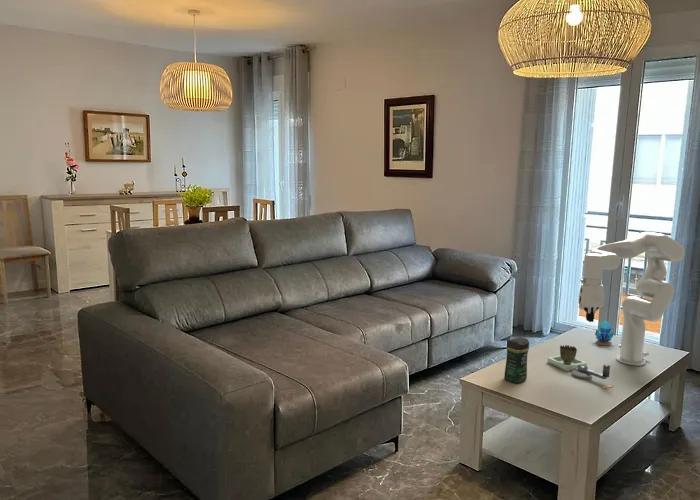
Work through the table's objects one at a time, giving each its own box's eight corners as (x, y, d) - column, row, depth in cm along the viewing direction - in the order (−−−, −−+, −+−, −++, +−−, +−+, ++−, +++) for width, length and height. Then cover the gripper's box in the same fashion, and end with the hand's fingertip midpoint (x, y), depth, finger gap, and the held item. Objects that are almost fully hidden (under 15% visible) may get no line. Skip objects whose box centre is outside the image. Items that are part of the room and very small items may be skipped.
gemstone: (594, 340, 289) (596, 318, 287) (612, 342, 286) (614, 320, 284) (594, 344, 282) (596, 322, 280) (612, 346, 279) (615, 324, 277)
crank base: (568, 373, 242) (568, 369, 242) (581, 371, 245) (582, 366, 245) (582, 380, 235) (582, 375, 235) (595, 377, 238) (596, 373, 238)
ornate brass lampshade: (577, 367, 248) (578, 350, 247) (560, 366, 249) (561, 349, 248) (573, 361, 255) (575, 345, 254) (557, 360, 257) (558, 344, 255)
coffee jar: (517, 385, 228) (520, 343, 225) (501, 379, 234) (503, 338, 231) (530, 379, 234) (532, 338, 232) (514, 374, 240) (516, 334, 238)
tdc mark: (610, 385, 229) (610, 385, 229) (612, 386, 228) (612, 386, 228) (601, 387, 227) (601, 386, 227) (604, 388, 226) (604, 387, 226)
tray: (566, 359, 260) (567, 354, 260) (586, 368, 249) (587, 362, 249) (547, 362, 255) (547, 357, 255) (566, 371, 244) (567, 366, 244)
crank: (575, 369, 240) (576, 357, 239) (581, 368, 242) (582, 355, 242) (605, 380, 228) (606, 367, 227) (611, 378, 231) (612, 365, 230)
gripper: (580, 284, 235) (578, 324, 239) (613, 282, 237) (610, 322, 240) (571, 280, 243) (569, 319, 246) (603, 278, 244) (601, 317, 247)
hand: (589, 321), depth 243 cm, fingers closed
